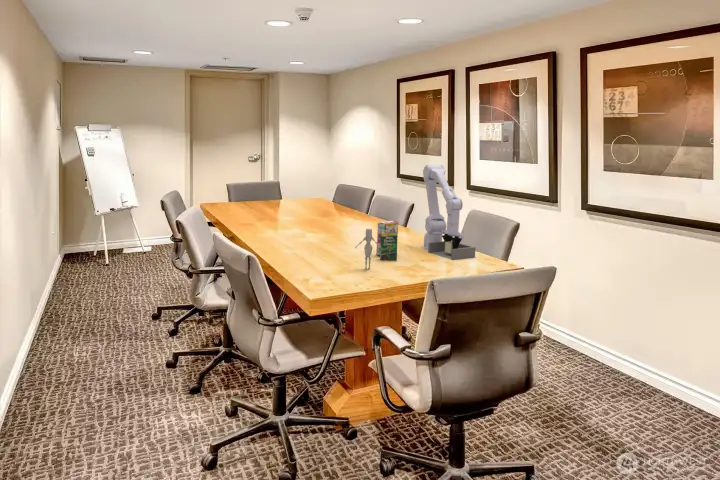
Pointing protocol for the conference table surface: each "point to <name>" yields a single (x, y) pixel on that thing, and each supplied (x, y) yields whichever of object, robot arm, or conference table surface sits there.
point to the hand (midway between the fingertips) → (451, 250)
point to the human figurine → (368, 246)
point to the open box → (459, 253)
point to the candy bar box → (387, 228)
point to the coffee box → (388, 246)
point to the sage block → (448, 247)
